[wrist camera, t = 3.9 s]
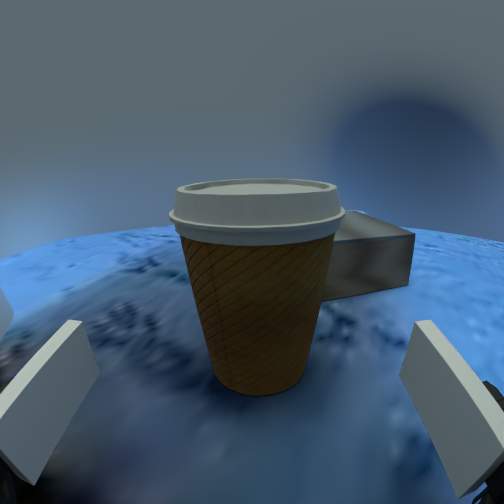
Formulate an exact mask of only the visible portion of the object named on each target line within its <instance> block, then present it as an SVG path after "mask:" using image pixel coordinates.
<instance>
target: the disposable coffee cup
mask: <svg viewBox="0 0 504 504" xmlns="http://www.w3.org/2000/svg"><path fill="white" fill-rule="evenodd" d="M169 216H170V220H171V221H172V222H173V223H175V230H176V232H177V233H178V234H179V235H180V238H181V243H182V248H183V252H184V256H185V261H186V265H187V269H188V274H189V278H190V282H191V286H192V290H193V295H194V298H195V302H196V306H197V311H198V314H199V318H200V322H201V326H202V329H203V333H204V337H205V340H206V344H207V348H208V350H209V355H210V358H211V362H212V365H213V369H214V373H215V375H216V377H217V378H218V380H219V381H220V382H221V383H222V384H223V385H224V386H226V387H227V388H229V389H231V390H234V391H236V392H239V393H242V394H246V395H256V396H260V395H270V394H275V393H279V392H281V391H284V390H286V389H288V388H290V387H292V386H293V385H294V384H296V383H297V382H298V381H299V380H300V378H301V377H302V375H303V373H304V370H305V366H306V362H307V358H308V354H309V350H310V346H311V342H312V339H313V334H314V330H315V326H316V322H317V318H318V314H319V309H320V305H321V300H322V296H323V291H324V288H325V283H326V278H327V272H328V268H329V262H330V257H331V252H332V246H333V241H334V237H335V232H336V231H337V230H338V229H339V228H340V220H342V219H343V218H344V216H345V210H344V209H343V208H342V207H341V206H340V201H339V196H338V191H337V187H336V186H335V185H332V184H329V183H324V182H317V181H309V180H296V179H295V180H294V179H234V180H221V181H212V182H202V183H196V184H190V185H186V186H182V187H179V188H178V189H177V190H176V196H175V204H174V209H173V210H172V211H170V213H169Z"/></svg>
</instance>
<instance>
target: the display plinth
mask: <svg viewBox="0 0 504 504" xmlns="http://www.w3.org/2000/svg"><path fill="white" fill-rule="evenodd" d="M414 243H415V233H412V232H410V231H407V230H405V229H402V228H399V227H397V226H394V225H392V224H389V223H386V222H383V221H381V220H378V219H376V218H373V217H370V216H368V215H365V214H362V213H359V212H357V211H345V216H344V218H343V219H342V220H340V228H339V229H338V230H337V231H336V232H335V237H334V241H333V246H332V252H331V257H330V262H329V268H328V272H327V278H326V283H325V288H324V291H323V296H322V300H321V301H326V300H332V299H338V298H343V297H349V296H354V295H360V294H365V293H370V292H375V291H381V290H386V289H390V288H395V287H400V286H405V285H408V282H409V276H410V270H411V264H412V257H413V250H414Z"/></svg>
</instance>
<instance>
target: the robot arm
mask: <svg viewBox="0 0 504 504" xmlns="http://www.w3.org/2000/svg"><path fill="white" fill-rule="evenodd" d="M99 374H100V371H99V369H98V366H97V363H96V361H95V358H94V355H93V352H92V349H91V346H90V343H89V340H88V337H87V334H86V331H85V328H84V325H83V321H75V320H68V321H67V322H66V323H65V324H64V325H63V326H62V327H61V328H60V329H59V330H58V331H57V332H56V333H55V334H54V335H53V336H52V337H51V338H50V339H49V340H48V341H47V342H46V343H45V345H44V346H43V347H42V348H41V349H40V350H39V351H38V352H37V353H36V354H35V355H34V356H33V357H32V359H31V360H30V361H29V362H28V363H27V364H26V365H25V366H24V367H23V368H22V370H21V371H20V372H19V373H18V374H17V375H16V376H15V377H13V378H12V379H10V380H9V381H7V382H6V383H4V384H3V386H2V387H1V388H0V504H17V501H16V496H15V492H14V487H13V481H12V478H11V475H10V474H9V473H8V471H9V469H10V468H11V469H12V470H13V471H14V472H15V473H16V474H17V475H18V477H20V478H21V479H23V480H25V481H27V482H29V483H30V484H32V485H35V483H36V482H37V480H38V478H39V476H40V474H41V472H42V470H43V468H44V467H45V465H46V463H47V461H48V459H49V457H50V456H51V454H52V452H53V450H54V448H55V447H56V445H57V443H58V441H59V440H60V438H61V436H62V434H63V433H64V431H65V429H66V428H67V426H68V424H69V423H70V421H71V419H72V418H73V416H74V414H75V413H76V411H77V409H78V408H79V406H80V404H81V403H82V401H83V399H84V398H85V396H86V395H87V393H88V391H89V390H90V388H91V387H92V385H93V383H94V382H95V380H96V379H97V377H98V376H99ZM399 376H400V378H401V380H402V382H403V384H404V386H405V387H406V389H407V391H408V393H409V395H410V397H411V399H412V401H413V403H414V405H415V407H416V409H417V411H418V413H419V415H420V417H421V419H422V421H423V423H424V425H425V427H426V429H427V431H428V433H429V435H430V438H431V440H432V442H433V444H434V446H435V448H436V450H437V453H438V455H439V457H440V459H441V461H442V464H443V466H444V468H445V471H446V473H447V475H448V478H449V480H450V482H451V485H452V487H453V489H454V492H455V494H456V497H457V499H459V498H461V497H463V496H466V495H468V494H470V493H472V492H474V491H476V490H477V489H478V488H479V487H480V486H481V485H482V484H483V483H484V482H486V484H487V487H486V488H485V489H484V490H483V491H482V492H481V493H480V494H479V495H478V496H476V497H475V498H474V500H473V502H472V503H471V504H475V503H476V502H477V501H478V500H479V499H480V498H481V497H482V498H481V501H480V502H479V503H478V504H504V397H503V395H502V394H501V393H500V391H499V390H498V389H497V388H496V387H495V386H493V385H492V384H490V383H489V382H488V381H484V382H481V380H480V379H479V378H478V377H477V375H476V374H475V373H474V371H473V370H472V369H471V368H470V366H469V365H468V364H467V363H466V361H465V360H464V359H463V358H462V356H461V355H460V354H459V353H458V351H457V350H456V349H455V348H454V347H453V345H452V344H451V343H450V342H449V341H448V339H447V338H446V337H445V336H444V335H443V334H442V332H441V331H440V330H439V329H438V328H437V327H436V325H435V324H434V323H433V322H432V321H431V320H423V321H415V323H414V327H413V330H412V334H411V338H410V341H409V345H408V348H407V352H406V355H405V358H404V361H403V365H402V368H401V371H400V374H399Z"/></svg>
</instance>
